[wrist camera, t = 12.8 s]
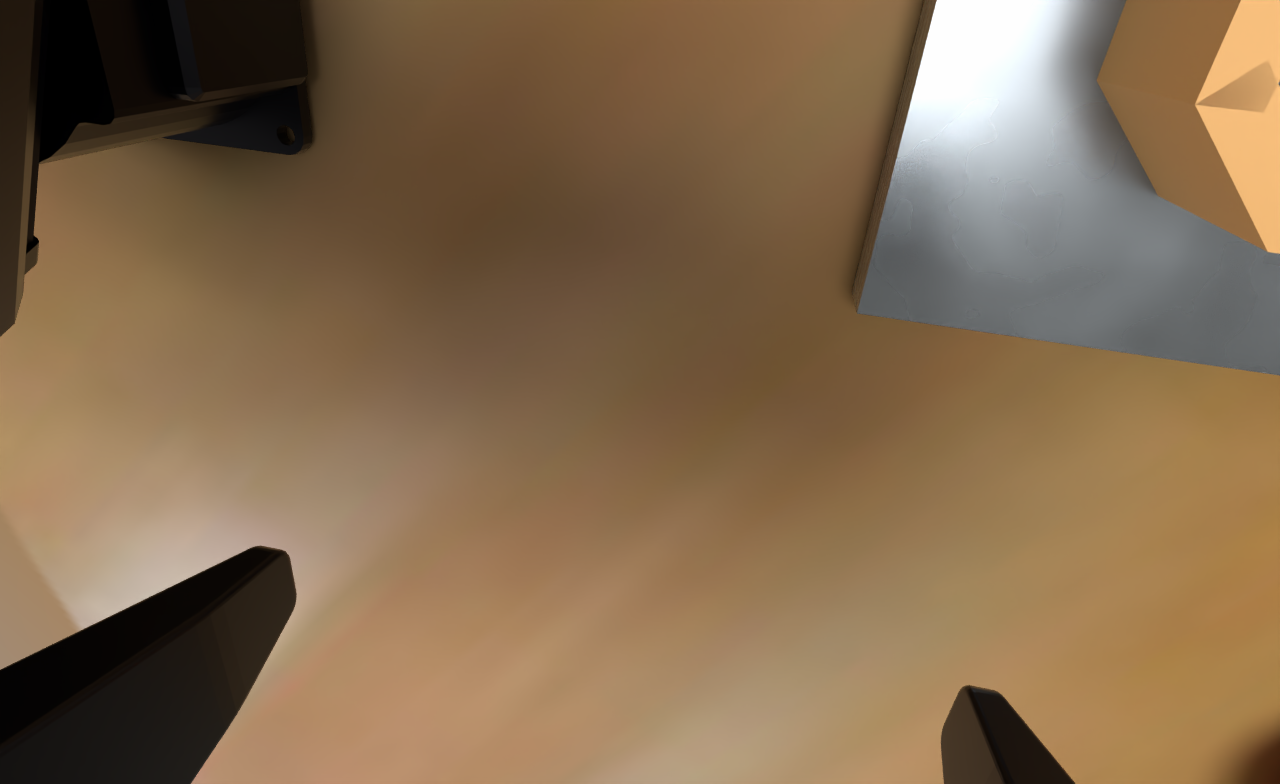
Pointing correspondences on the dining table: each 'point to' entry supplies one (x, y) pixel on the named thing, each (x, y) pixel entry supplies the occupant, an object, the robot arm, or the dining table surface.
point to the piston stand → (1047, 202)
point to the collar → (1203, 107)
